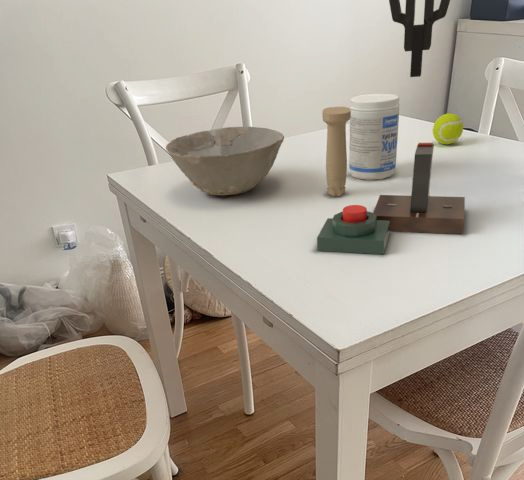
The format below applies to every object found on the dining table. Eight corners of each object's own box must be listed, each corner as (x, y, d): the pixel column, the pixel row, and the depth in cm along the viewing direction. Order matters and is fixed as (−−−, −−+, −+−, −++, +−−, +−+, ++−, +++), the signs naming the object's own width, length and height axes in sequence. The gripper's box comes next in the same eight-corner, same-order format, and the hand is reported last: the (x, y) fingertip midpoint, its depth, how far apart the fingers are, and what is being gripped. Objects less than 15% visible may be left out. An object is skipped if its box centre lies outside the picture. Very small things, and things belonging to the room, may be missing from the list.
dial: (426, 212, 85) (432, 152, 80) (409, 212, 86) (414, 152, 81) (428, 199, 90) (434, 142, 85) (412, 199, 91) (417, 142, 85)
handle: (347, 188, 106) (348, 105, 97) (350, 198, 100) (352, 113, 92) (322, 189, 106) (321, 107, 98) (324, 200, 101) (324, 115, 92)
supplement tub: (390, 182, 107) (395, 102, 98) (343, 180, 110) (344, 102, 102) (399, 168, 114) (404, 92, 106) (354, 166, 117) (356, 93, 109)
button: (368, 216, 83) (368, 205, 82) (364, 224, 80) (364, 213, 79) (344, 215, 84) (345, 204, 83) (340, 223, 81) (340, 212, 80)
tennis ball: (460, 140, 128) (464, 110, 125) (462, 147, 123) (466, 116, 119) (431, 140, 130) (433, 111, 126) (431, 148, 125) (434, 117, 121)
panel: (462, 211, 91) (464, 195, 90) (462, 234, 83) (464, 218, 82) (379, 208, 95) (379, 193, 94) (371, 230, 87) (371, 214, 86)
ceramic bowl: (307, 190, 106) (306, 137, 101) (203, 219, 98) (195, 163, 92) (252, 167, 123) (248, 121, 117) (158, 190, 114) (149, 141, 108)
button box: (389, 233, 86) (390, 209, 84) (383, 254, 80) (384, 229, 77) (327, 230, 89) (327, 207, 86) (317, 250, 83) (316, 226, 80)
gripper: (481, -136, 69) (461, 68, 82) (378, -120, 73) (374, 74, 86) (484, -145, 63) (461, 76, 77) (372, -127, 67) (369, 82, 80)
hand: (415, 75), depth 81 cm, fingers closed
